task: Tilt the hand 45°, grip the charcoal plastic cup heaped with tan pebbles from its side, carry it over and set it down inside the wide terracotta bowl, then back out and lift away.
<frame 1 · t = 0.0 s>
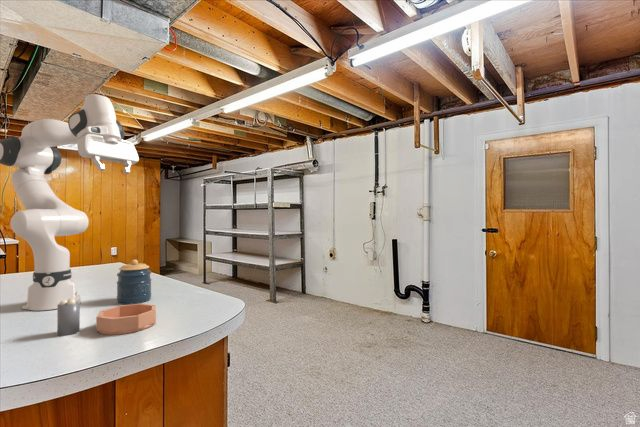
hand: (114, 171, 118), 52 cm above the counter, tool tilted 20°, fingers open, 8 cm apart
terracotta bowl: (127, 325, 109), on the counter
pebble cup: (68, 332, 103), on the counter
canister: (134, 301, 141), on the counter
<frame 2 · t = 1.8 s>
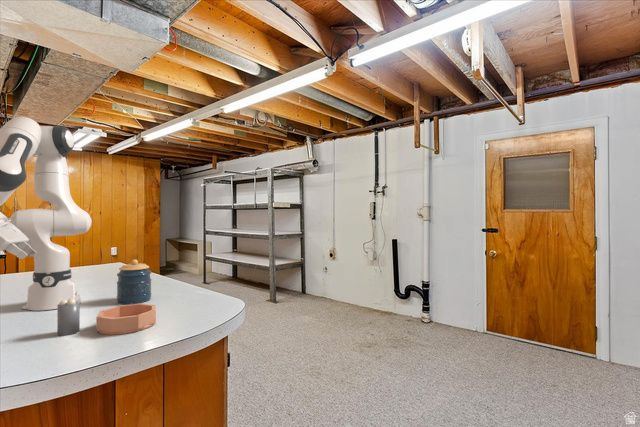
hand: (30, 256, 98), 24 cm above the counter, tool tilted 45°, fingers open, 8 cm apart
nothing on the counter moved.
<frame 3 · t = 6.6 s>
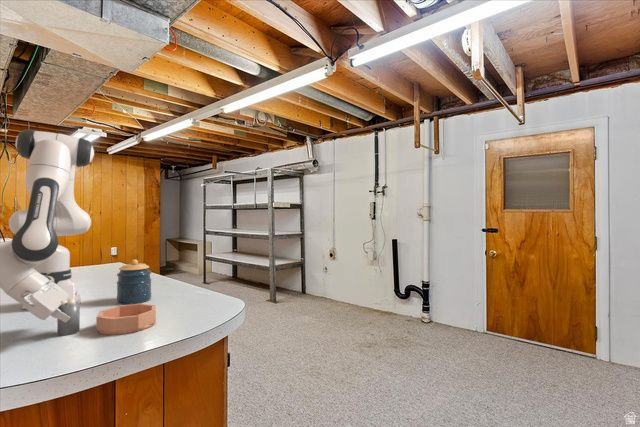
hand: (71, 316, 103), 5 cm above the counter, tool tilted 45°, fingers closed on pebble cup, 5 cm apart
pebble cup: (68, 332, 103), on the counter, touching gripper
everything else where it was.
when the fingers open (7 cm above the counter, at t = 12.3 s): pebble cup drops 1 cm, resting on terracotta bowl.
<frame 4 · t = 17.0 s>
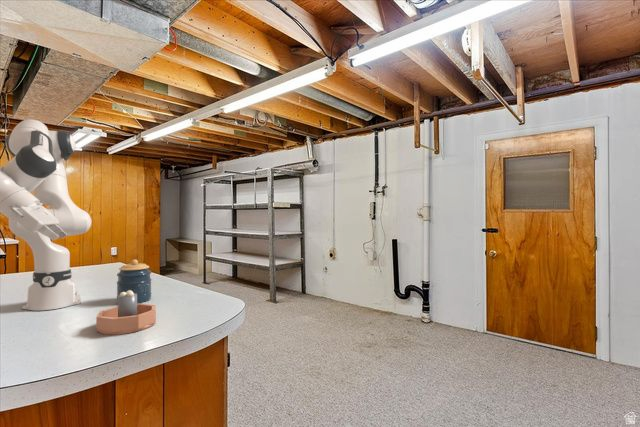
hand: (61, 237, 103), 29 cm above the counter, tool tilted 45°, fingers open, 8 cm apart
pebble cup: (127, 322, 109), point 1 cm above the counter, touching terracotta bowl
everything else where it was.
at the end: pebble cup inside the target area on the terracotta bowl (0.1 cm from its centre), point 1.0 cm above the terracotta bowl's base; pebble cup tilted 0°; the gripper is holding nothing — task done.
